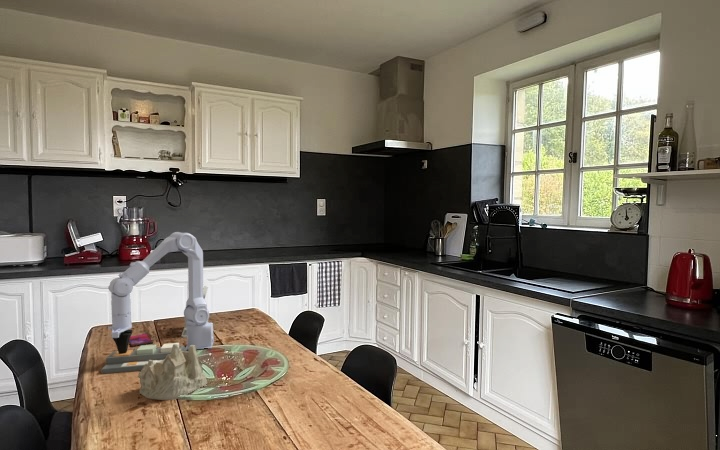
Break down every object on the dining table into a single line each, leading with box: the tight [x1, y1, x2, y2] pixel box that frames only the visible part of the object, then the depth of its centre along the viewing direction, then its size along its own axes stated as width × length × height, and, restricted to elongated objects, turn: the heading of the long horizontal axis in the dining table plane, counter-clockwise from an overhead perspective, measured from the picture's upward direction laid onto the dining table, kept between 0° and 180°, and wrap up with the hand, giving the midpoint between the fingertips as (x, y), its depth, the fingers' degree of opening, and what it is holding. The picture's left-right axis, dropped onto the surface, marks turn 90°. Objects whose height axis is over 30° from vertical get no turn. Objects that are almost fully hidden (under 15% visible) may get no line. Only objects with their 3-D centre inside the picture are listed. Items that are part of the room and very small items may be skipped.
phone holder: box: [181, 285, 209, 338], centre depth 187 cm, size 17×10×18 cm, turn 17°
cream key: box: [160, 342, 180, 353], centre depth 152 cm, size 5×5×2 cm
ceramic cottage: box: [137, 344, 208, 401], centre depth 128 cm, size 16×16×15 cm
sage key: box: [136, 343, 157, 355], centre depth 150 cm, size 5×5×2 cm
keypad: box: [101, 344, 188, 375], centre depth 150 cm, size 23×16×4 cm
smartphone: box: [129, 333, 154, 348], centre depth 175 cm, size 8×1×15 cm
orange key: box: [112, 349, 133, 357], centre depth 149 cm, size 5×5×2 cm
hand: (122, 353), depth 149 cm, fingers closed, pressing on orange key
